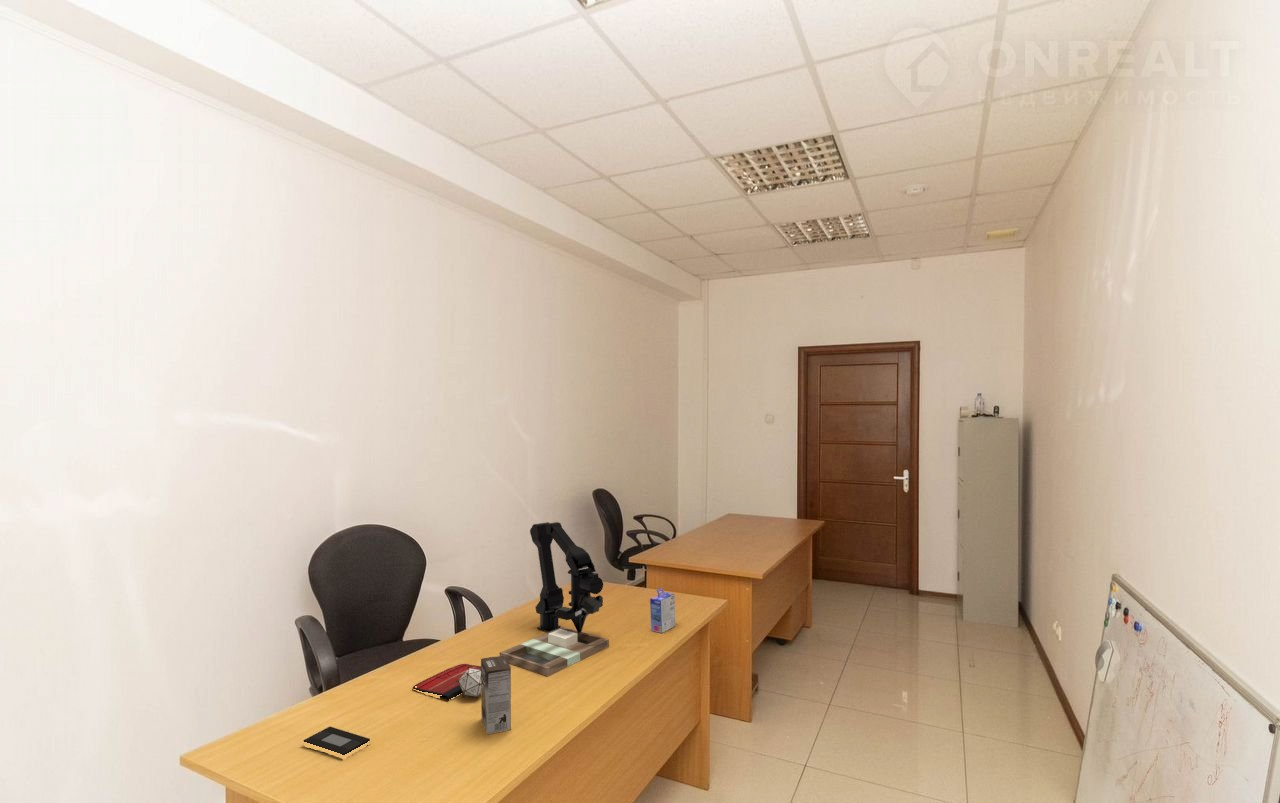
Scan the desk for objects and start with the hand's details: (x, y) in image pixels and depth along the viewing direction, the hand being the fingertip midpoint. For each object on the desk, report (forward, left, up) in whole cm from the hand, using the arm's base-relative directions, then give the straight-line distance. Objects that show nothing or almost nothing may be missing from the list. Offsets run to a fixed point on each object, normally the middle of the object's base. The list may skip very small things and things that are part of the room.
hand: (579, 632), depth 221 cm
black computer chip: (-3, -86, -4) cm, 86 cm away
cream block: (0, -9, -1) cm, 9 cm away
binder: (-9, -46, -4) cm, 47 cm away
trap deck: (0, -12, -4) cm, 12 cm away
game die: (+3, -49, -4) cm, 49 cm away
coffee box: (+21, -56, -4) cm, 60 cm away
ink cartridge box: (+16, +29, -4) cm, 33 cm away
